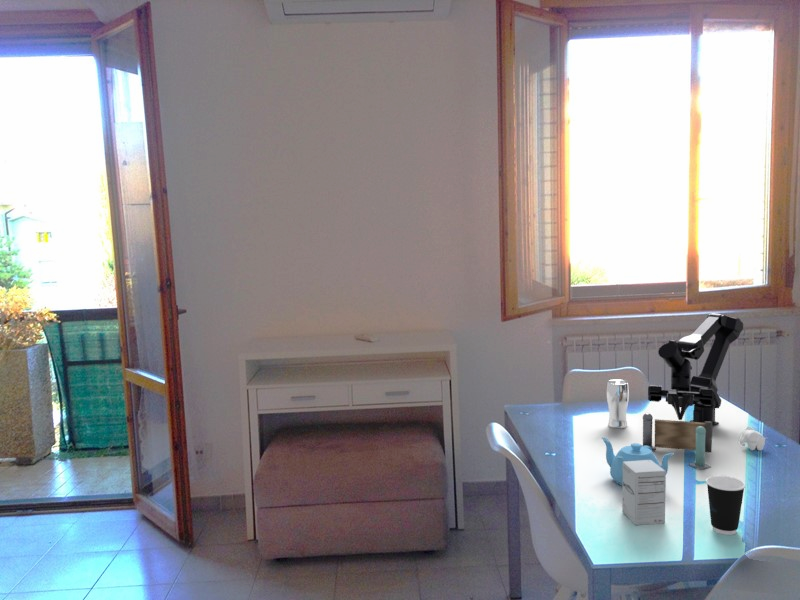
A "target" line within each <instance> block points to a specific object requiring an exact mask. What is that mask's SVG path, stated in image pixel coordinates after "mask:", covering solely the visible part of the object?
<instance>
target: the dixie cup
mask: <svg viewBox="0 0 800 600" xmlns="http://www.w3.org/2000/svg"><path fill="white" fill-rule="evenodd" d="M705 483H706V487H707V496H708V507H709V516H710V517H709V518H710V525H711V527H712V530H713V532H715V533H716V534H720V535H723V536H732V535H735V534H736V533H737V531H738V529H739V523H740V516H741V511H742V505H743V499H744V498H743V497H744V490H745V488H746V483H745V482H744V481H743V480H741V479H738V478H736V477H731V476H727V475H712V476H709V477H707V478H706V479H705Z"/></svg>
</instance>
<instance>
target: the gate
mask: <svg viewBox="0 0 800 600" xmlns="http://www.w3.org/2000/svg"><path fill="white" fill-rule="evenodd" d="M698 426H702V427H704V428H705V430H706V433H705V453H707V454H708V453H712V452H713V451H712V450H713V449H712V448H713V446H712V445H713V425H712V422H711V421H705V423H701V422H690V421H686V420H672V419H670V420H669V419H657V418H656V419H654V447H656V448H661V449H673V450H685V451H696V431H695V430H696V428H697V427H698Z"/></svg>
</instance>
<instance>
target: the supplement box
mask: <svg viewBox="0 0 800 600" xmlns="http://www.w3.org/2000/svg"><path fill="white" fill-rule="evenodd" d="M660 466H661V465H660ZM660 466H659V465H657V464H656V463H654V462H653V461H652V460H639V461H625V462H623V486H622V488H621V489H622V494H621V495H622V502H621V504H622V505H621V508H622V509H621V510H622V511H621V512H622V513H623V514H624V515H625V516H626V517H628V519H629V520H630V521H631V522H632V523H633V524H634V525H635V526H646V525H647V526H648V525H657V524H666V487H667V486H666V483H667V482H666V478H667V477H666V475H667V474H666V471H665V470H664V469H662V468H661V467H660Z"/></svg>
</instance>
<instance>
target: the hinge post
mask: <svg viewBox="0 0 800 600" xmlns="http://www.w3.org/2000/svg"><path fill="white" fill-rule="evenodd" d="M653 419H654V417H653V415H652V414H651V413H649V412H646V413H643V415H642V444H641V445H642V446H641V447H643V446H649V447H651V448H652V451H654V452H656V451H657V447H655V445H654V446H653Z"/></svg>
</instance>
